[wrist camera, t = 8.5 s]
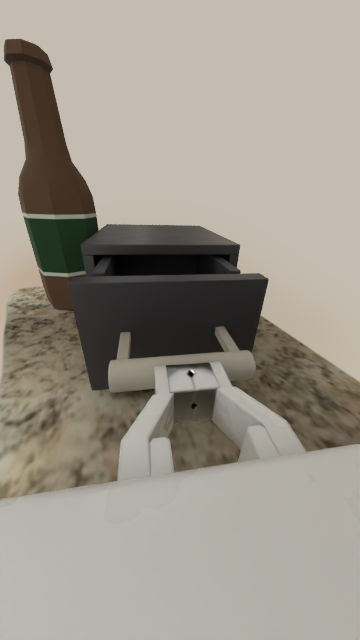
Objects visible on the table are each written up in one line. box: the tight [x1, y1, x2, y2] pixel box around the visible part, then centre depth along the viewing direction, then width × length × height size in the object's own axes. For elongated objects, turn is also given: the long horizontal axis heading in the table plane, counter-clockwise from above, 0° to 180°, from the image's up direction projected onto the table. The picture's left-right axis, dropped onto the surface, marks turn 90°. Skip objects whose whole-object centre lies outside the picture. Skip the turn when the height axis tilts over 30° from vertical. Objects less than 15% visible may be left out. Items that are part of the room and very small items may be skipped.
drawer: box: [68, 255, 268, 393], centre depth 18 cm, size 18×11×8 cm, turn 9°
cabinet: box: [81, 224, 240, 277], centre depth 26 cm, size 15×13×10 cm
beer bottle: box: [4, 39, 98, 310], centre depth 25 cm, size 8×8×24 cm
